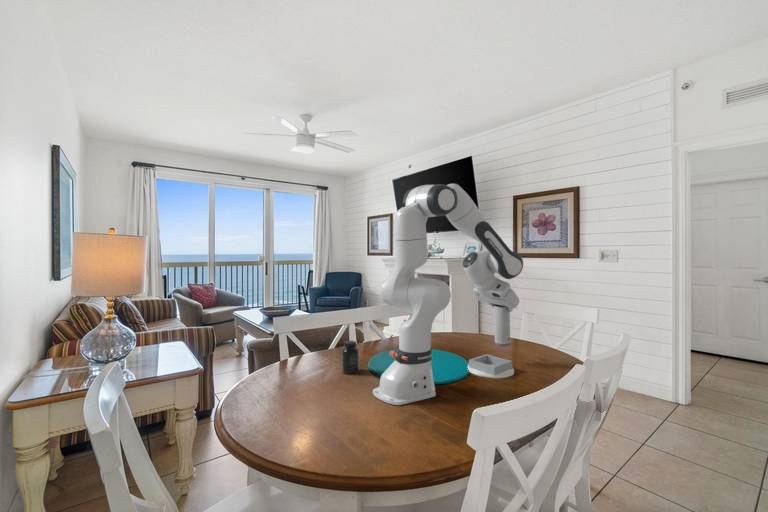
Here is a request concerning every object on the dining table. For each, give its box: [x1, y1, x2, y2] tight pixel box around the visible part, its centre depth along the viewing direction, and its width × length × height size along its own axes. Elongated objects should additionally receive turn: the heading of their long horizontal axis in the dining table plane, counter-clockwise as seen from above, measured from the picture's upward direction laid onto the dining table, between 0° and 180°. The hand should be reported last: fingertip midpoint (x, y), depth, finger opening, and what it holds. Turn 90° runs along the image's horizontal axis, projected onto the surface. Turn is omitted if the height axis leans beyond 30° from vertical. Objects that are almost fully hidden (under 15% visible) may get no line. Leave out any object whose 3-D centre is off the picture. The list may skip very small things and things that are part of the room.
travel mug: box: [493, 304, 511, 347], centre depth 150 cm, size 6×7×20 cm
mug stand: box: [466, 353, 515, 380], centre depth 143 cm, size 18×18×4 cm
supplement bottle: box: [341, 340, 360, 375], centre depth 143 cm, size 7×7×12 cm
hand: (503, 309), depth 150 cm, fingers closed on travel mug, 6 cm apart
